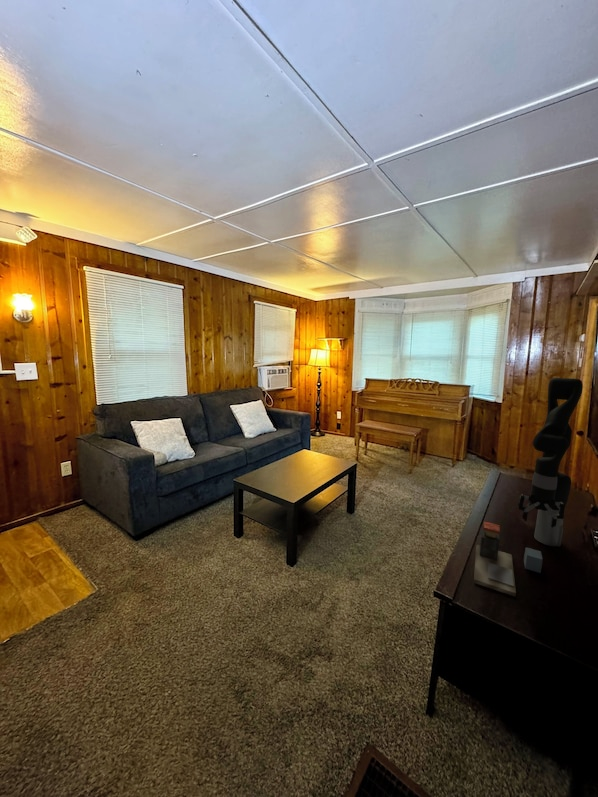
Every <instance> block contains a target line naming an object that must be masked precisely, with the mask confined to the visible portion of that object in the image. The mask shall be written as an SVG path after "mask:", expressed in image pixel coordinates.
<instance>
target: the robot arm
mask: <svg viewBox="0 0 598 797" xmlns="http://www.w3.org/2000/svg"><path fill="white" fill-rule="evenodd" d="M583 388H584V386H583V381H582V380H581V379H579V378H568V377H567V378H566V377H552V378H551V379H550V380H549V383H548V388H547V411H546V413H547V414H546V418H545V422H544V425H543V426H542V428H541V429H540V430H539V431H538V432H537V433H536V435H535V436H534V438H533V439H532V447H533V448H534V449H535V450H536V451H539V452H542V456H541V457H538V458H537V459H536V460H535V467H534V473H533V474H532V475H533V476H532V481H531V488H530V489H531V490H530V494H529V495H525V494H524V493H520V496H519V500H518V503H517V507H518V510H520V511H522V515H521V516H522V520H523V521H524V522H527V521H528V514H529V512H530V511H532V510H533V509H535V510H537V515H536V523H535V530H534V535H533V536H534V539H535V540H536V541H538V542H539V543H541V544H543V545H546V546H549V547H561V544H562V538H563V531H564V526H563V525H564V518H565V510H566V506H567V503H568V501H569V496H570V492H571V488H572V478H571V476H569V475H568V474H565V473H563V472H560V471H559V468H560V465H561V462H562V460H563V458H564V456H565V455H566V452H567V451H568V449H569V448H570V446H571V443H572V435H573V430H572V427H571V425H570V423H569V422H570V419H571V417H572V414H573V413H574V411H575V409H576V407H577V405H578V403H579V401H580V400H581V398H582V397H581V396H582V395H583ZM558 400H563V401H564V402H563V403H561V404H560V405H559V402H558ZM527 500H528V501H529V503H527V504H526V505H525V506H523V505H524V502H526V501H527Z"/></svg>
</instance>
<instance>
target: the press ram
mask: <svg viewBox="0 0 598 797" xmlns="http://www.w3.org/2000/svg"><path fill="white" fill-rule="evenodd" d="M482 530H485V531H486V532H485V537H488V538H492V539H495V540H496V534H499V535H500V532H501V530H500V525H499V524H496V523H492V522H488V521H483V529H482Z"/></svg>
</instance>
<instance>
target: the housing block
mask: <svg viewBox="0 0 598 797" xmlns="http://www.w3.org/2000/svg"><path fill="white" fill-rule="evenodd" d="M523 555H524V556H523V563H524V564H523V565H524V569H526V570H529V571H531V572H535V573H539V574H541V572H542V568H543V566H542V565H543V555H542V551H541V550H538V549H533V548H530V547H525V550H524V554H523Z"/></svg>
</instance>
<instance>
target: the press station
mask: <svg viewBox="0 0 598 797" xmlns="http://www.w3.org/2000/svg"><path fill="white" fill-rule="evenodd" d="M485 532H486V531H485V530H483V529H482V530H481V533H480V534H481V537H480V542H479V543H480V545H479V544H476V545H475V556H474V559H475V561H474V573H473V574H474V576H473V583H474V584H477V585H480V586H482V587H485V588H488V589H490V590H495V591H496V592H500V593H502V594H506V595H510V596H512V597H515V598H516V594H517V590H516V583H515V582H516V581H515V574H514V573H515V572H514V565H513V556H512V554H511V553H507V552H504V551H501V550H499V548H500V534H496V540H495V539H492V538H488V537H485Z"/></svg>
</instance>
